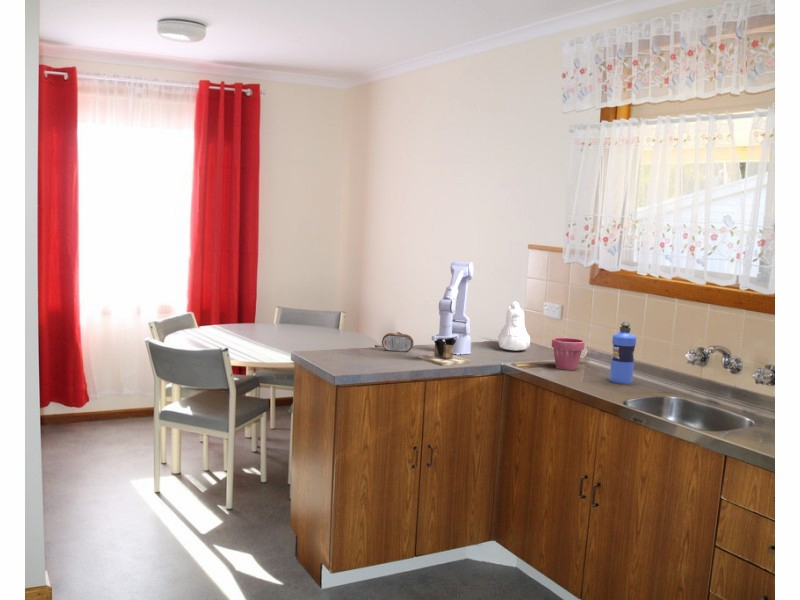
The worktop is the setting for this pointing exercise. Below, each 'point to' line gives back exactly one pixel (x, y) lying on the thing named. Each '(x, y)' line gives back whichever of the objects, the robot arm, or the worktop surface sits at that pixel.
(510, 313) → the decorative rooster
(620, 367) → the water bottle
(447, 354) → the block
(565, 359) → the plant pot
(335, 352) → the worktop surface
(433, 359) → the board
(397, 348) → the tin
